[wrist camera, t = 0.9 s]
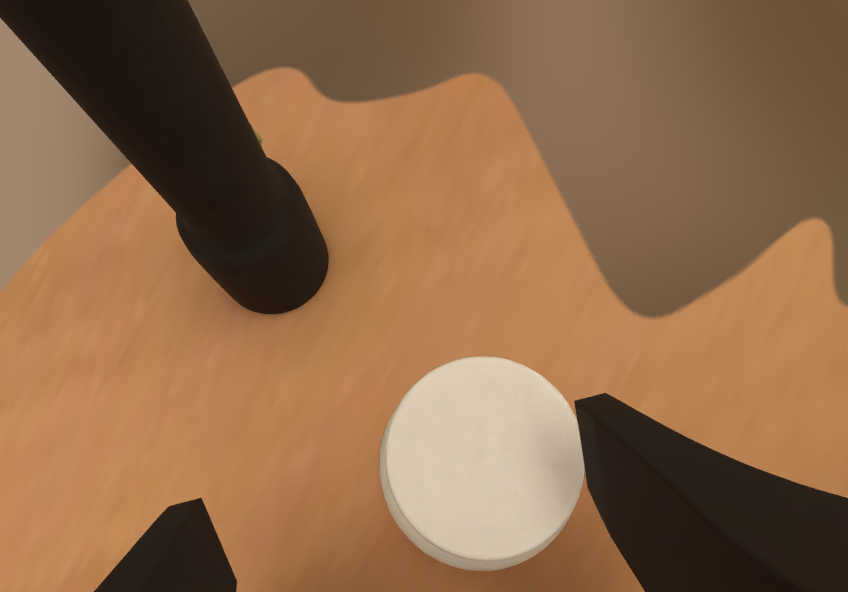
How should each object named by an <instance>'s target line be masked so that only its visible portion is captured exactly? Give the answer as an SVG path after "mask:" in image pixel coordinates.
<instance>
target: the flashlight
mask: <svg viewBox="0 0 848 592" xmlns="http://www.w3.org/2000/svg"><path fill="white" fill-rule="evenodd" d="M0 18H1V19H2V20H3V21H4V22H5V23H6V24H7V26H8V27H9V28H10V29H11V30H12V31H13V32H14V33H15V35H16V36H17V37H18V38H19V39H20V40H21V41H22V42H23V43H24V44H25V46H26V47H27V48H28V49H29V50H30V51H31V52H32V53H33V55H34V56H35V57H36V58H37V59H38V60H39V61H40V62H41V63H42V64H43V65H44V67H45V68H46V69H47V70H48V71H49V72H50V73H51V74H52V76H54V78H55V79H56V80H57V81H58V82H59V83H60V84H61V85H62V87H63V88H64V89H65V90H66V91H67V92H68V93H69V94H70V95H71V97H72V98H73V99H74V100H75V101H76V102H77V103H78V104H79V106H80V107H81V108H82V109H83V110H84V111H85V112H86V113H87V114H88V116H89V117H90V118H91V119H92V120H93V121H94V122H95V123H96V124H97V126H98V127H99V128H100V129H101V130H102V131H103V132H104V133H105V134H106V135H107V136H108V138H109V139H110V140H111V141H112V142H113V143H114V144H115V145H116V147H117V148H118V149H119V150H120V151H121V152H122V153H123V154H124V155H125V156H126V158H127V159H128V160H129V161H130V162H131V163H132V164H133V165H134V167H135V168H136V169H137V170H138V171H139V172H140V173H141V174H142V175H143V177H144V178H145V179H146V180H147V181H148V182H149V183H150V184H151V185H152V187H153V188H154V189H155V190H156V191H157V192H158V193H159V194H160V195H161V197H162V198H163V199H164V200H165V201H166V202H167V203H168V204H169V205H170V206H171V208H172V209H173V210H174V211H175V212H176V223H177V228H178V231H179V234H180V236H181V238H182V240H183V242H184V243H185V245H186V247H187V248H188V250H189V252H190V253H191V255H192V256H193V257H194V258H195V259H196V260H197V262H198V263H199V264H200V265H201V266H202V267H203V268H204V269H205V270H206V271H207V272H208V273H209V274H210V276H211V277H212V278H213V279H214V280H215V281H216V282H217V283H218V284H219V285H220V286H221V287H222V288H223V289H224V290H225V291H226V292H227V293H228V294H229V295H230V296H231V297H232V298H233V299H234V300H235V301H237V302H238V303H239V304H240V305H242V306H244V307H245V308H247V309H249V310H252V311H255V312H259V313H265V314H276V313H283V312H287V311H290V310H293V309H295V308H297V307H299V306H301V305H302V304H304V303H305V302H307V301H308V300H309V299H310V298H311V297H312V296H313V295H314V294H315V293H316V292H317V291H318V289H319V288H320V286H321V285H322V283H323V281H324V278H325V276H326V273H327V268H328V251H327V247H326V243H325V241H324V239H323V236H322V234H321V232H320V229H319V227H318V225H317V223H316V220H315V218H314V216H313V214H312V212H311V210H310V207H309V205H308V203H307V201H306V199H305V197H304V195H303V193H302V191H301V189H300V187H299V185H298V184H297V183H296V182H295V180H294V179H293V178H292V176H291V175H290V174H289V173H288V172H287V171H286V170H285V168H283V167H282V166H281V165H280V164H278V163H277V162H275V161H273V160H272V159H270V158H267V157H266V155H265V153H264V151H263V149H262V146H261V142H262V140H263V139H262V138H261V136H259V135H258V134H257V133H256V132H255V131H254V130H253V128H252V126H251V124H250V123H249V122H248V120H247V118H246V116H245V114H244V112H243V110H242V108H241V106H240V104H239V102H238V100H237V98H236V96H235V94H234V92H233V90H232V88H231V86H230V84H229V82H228V80H227V78H226V76H225V74H224V72H223V70H222V68H221V66H220V64H219V62H218V60H217V58H216V56H215V54H214V52H213V50H212V48H211V46H210V44H209V42H208V40H207V38H206V36H205V34H204V32H203V30H202V28H201V26H200V24H199V22H198V20H197V18H196V16H195V14H194V12H193V10H192V8H191V6H190V4H189V2H188V0H0Z"/></svg>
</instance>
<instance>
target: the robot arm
mask: <svg viewBox="0 0 848 592" xmlns="http://www.w3.org/2000/svg"><path fill="white" fill-rule="evenodd" d="M574 402H575V408H576V415H577V421H578V427H579V434H580V440H581V447H582V453H583V460H584V466H585V473H586V479H587V486H588V489H589V492H590V494H591V496H592V498H593V500H594V503H595V505H596V507H597V509H598V511H599V514H600V516H601V518H602V520H603V522H604V524H605V526H606V528H607V530H608V532H609V534H610V536H611V538H612V539H613V541H614V542H615V544H616V546H617V547H618V549H619V551H620V552H621V554H622V555H623V557H624V559H625V560H626V562H627V563H628V565H629V567H630V568H631V570H632V571H633V573H634V575H635V576H636V578H637V579H638V581H639V583H640V584H641V586H642V587H643V589H644V591H645V592H848V498H845V497H842V496H838V495H835V494H831V493H828V492H824V491H820V490H817V489H814V488H811V487H808V486H804V485H801V484H798V483H795V482H792V481H790V480H787V479H784V478H781V477H778V476H776V475H773V474H770V473H767V472H765V471H762V470H759V469H756V468H754V467H751V466H749V465H746V464H744V463H741V462H739V461H737V460H735V459H732V458H730V457H728V456H726V455H723V454H721V453H719V452H717V451H714V450H712V449H710V448H708V447H706V446H704V445H701V444H699V443H697V442H695V441H693V440H691V439H689V438H687V437H685V436H683V435H681V434H679V433H677V432H675V431H674V430H672V429H670V428H668V427H666V426H664V425H662V424H660V423H659V422H657V421H655V420H653V419H651V418H650V417H648V416H646V415H644V414H642V413H641V412H639V411H637V410H635V409H633V408H632V407H630V406H628V405H626V404H625V403H623V402H621V401H619V400H618V399H616V398H614V397H612V396H610V395H608V394H606V393H603V394H599V395H595V396H592V397H588V398H584V399H580V400H576V401H574ZM236 586H237V580H236V578H235V576H234V573H233V571H232V569H231V566H230V564H229V562H228V559H227V557H226V555H225V552H224V550H223V547H222V545H221V543H220V540H219V538H218V536H217V533H216V531H215V529H214V526H213V524H212V522H211V519H210V517H209V515H208V512H207V510H206V507H205V505H204V503H203V500H202V498H199V499H195V500H191V501H187V502H184V503H180V504H176V505H172V506H169V507H168V508H167V509H166V510H165V511H164V512H163V513H162V514H161V515H160V516H159V517H158V518H157V520H156V521H155V522H154V523H153V524H152V525H151V526H150V528H149V529H148V530H147V531H146V532H145V533H144V534H143V536H142V537H141V538H140V539H139V540H138V541H137V543H136V544H135V545H134V546H133V547H132V548H131V550H130V551H129V552H128V553H127V554H126V555H125V557H124V558H123V559H122V560H121V561H120V562H119V563H118V565H117V566H116V567H115V568H114V569H113V570H112V572H111V573H110V574H109V575H108V576H107V577H106V578H105V580H104V581H103V582H102V583H101V584H100V585H99V587H98V588H97V589H96V590H95V591H94V592H236Z"/></svg>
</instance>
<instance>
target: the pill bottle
mask: <svg viewBox="0 0 848 592" xmlns="http://www.w3.org/2000/svg"><path fill="white" fill-rule="evenodd" d="M379 471H380V482H381V487H382V491H383V496H384V498H385V501H386V504H387V506H388V509H389V511H390V513H391V515H392V517H393V519H394V520H395V522H396V523H397V525H398V527H399V528H400V529H401V530H402V532H403V533H404V534H405V535H406V537H407V538H408V539H409V540H410V541H411V542H412V543H413V544H414V545H415V546H417V547H418V548H419V549H420V550H422V551H423V552H424V553H426V554H427V555H429V556H431V557H432V558H434V559H436V560H438V561H440V562H442V563H444V564H447V565H449V566H453V567H456V568H460V569H465V570H471V571H494V570H501V569H505V568H509V567H512V566H515V565H518V564H520V563H522V562H524V561H526V560H528V559H530V558H532V557H533V556H535V555H537V554H538V553H539V552H541V551H542V550H543V549H545V548H546V547H547V546H548V545H549V544H550V543H551V542H552V541H553V540H554V539H555V538H556V537H557V535H558V534H559V533H560V532H561V531H562V529H563V528H564V526H565V525H566V523H567V521H568V520H569V518H570V516H571V514H572V512H573V509H574V507H575V505H576V503H577V500H578V498H579V495H580V492H581V489H582V485H583V480H584V472H585V466H584V460H583V453H582V447H581V440H580V434H579V427H578V422H577V419H576V417H575V415H574V413H573V411H572V409H571V408H570V406H569V404H568V403H567V401H566V400H565V398H564V397H563V396H562V395H561V394H560V392H559V391H558V390H557V389H556V388H555V387H554V386H553V385H552V384H551V383H550V382H549V381H548V380H547V379H545V378H544V377H543V376H541V375H540V374H538V373H537V372H535V371H534V370H532V369H530V368H528V367H526V366H524V365H522V364H520V363H517V362H514V361H511V360H508V359H503V358H498V357H490V356H476V357H468V358H462V359H458V360H454V361H451V362H448V363H446V364H444V365H442V366H439V367H438V368H436V369H434V370H432V371H430V372H429V373H427V374H426V375H425V376H423V377H422V378H421V379H420V380H419V381H417V382H416V383H415V384H414V385H413V386H412V387H411V388H410V389H409V391H408V392H407V393H406V394H405V396H404V397H403V399H402V400H401V401H400V403H399V404H398V406H397V407H396V409H395V410H394V412H393V414H392V415H391V417H390V420H389V422H388V424H387V426H386V429H385V432H384V435H383V439H382V443H381V449H380V457H379Z"/></svg>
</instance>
